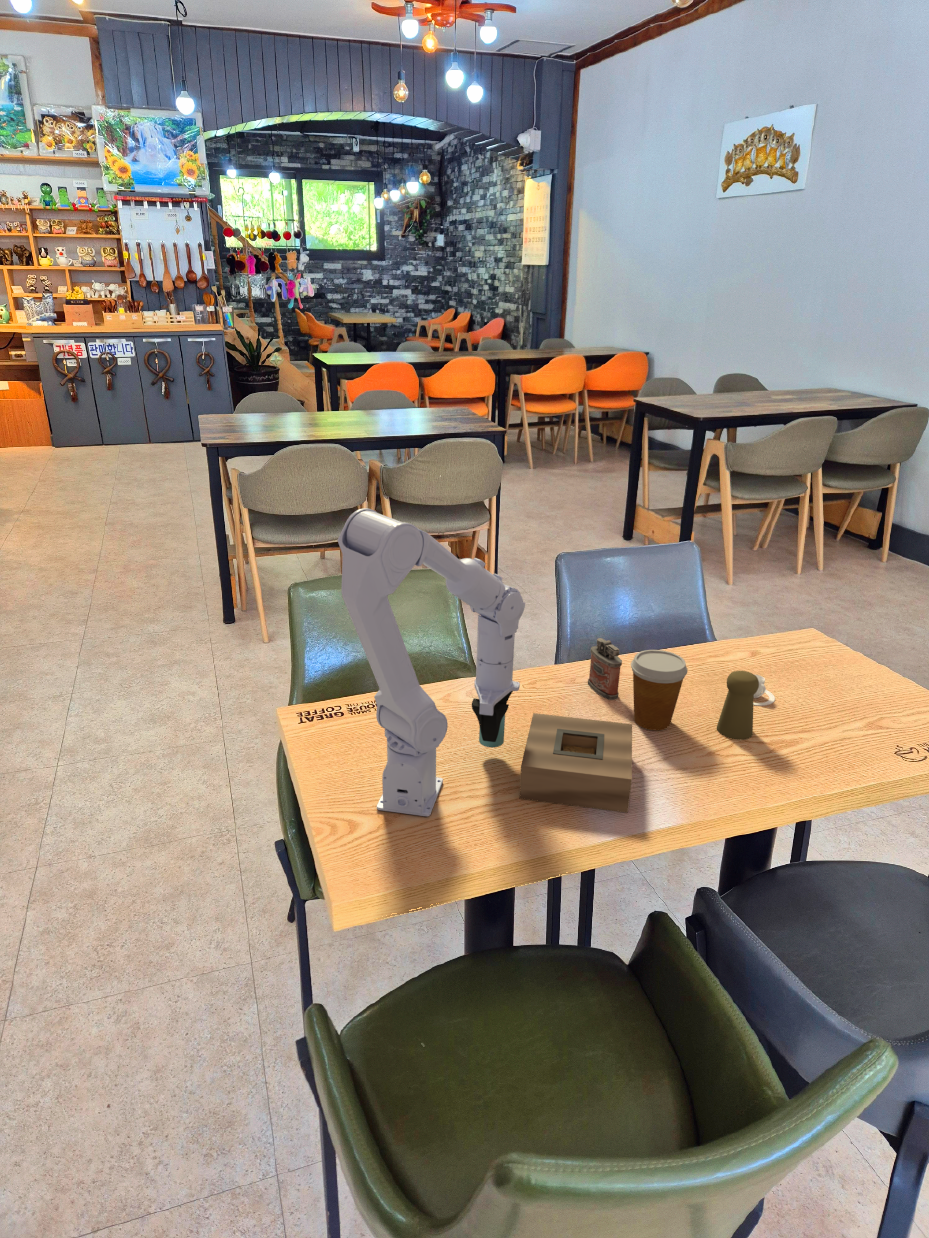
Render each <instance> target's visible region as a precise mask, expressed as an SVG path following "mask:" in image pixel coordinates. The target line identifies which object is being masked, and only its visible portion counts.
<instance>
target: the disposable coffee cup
mask: <svg viewBox="0 0 929 1238" xmlns="http://www.w3.org/2000/svg"><path fill="white" fill-rule="evenodd" d="M630 668H631V671H632V688H633V689H632V691H633V720H634V723H635V724H636V725H637V726H639V727H641V728H642V729H646V730H649V731H663V730H667V729H668V728H669V727H670V726H671V723H672V719H673V716H674V712H675V709H676V706H677V703H678V699H679V695H680V692H681V688H682V685H683V682H684V679H685V678H686V675H688V670H689V669H688V668H687V662H686V660H685V659H684V658H683V657H682V656H680V655H678V654H676V653H674V652H672V651H667V650H664V649H663V650H661V649H660V650H659V649H645V650H641V651H639V652H637V653H636V654H635V655H634V657H633V659H632V660H631V663H630Z"/></svg>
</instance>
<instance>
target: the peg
mask: <svg viewBox="0 0 929 1238" xmlns="http://www.w3.org/2000/svg"><path fill="white" fill-rule="evenodd" d="M505 725H506V714H505V715H504V716H503V718H502V720H501V723H500V728H499V733H498V736H497V739H496V742H489V741H483V739H482V735H481V730H480V728H479V732H478V735H479V736H478V742H479V744H480V745H481V746H483V747H487V748H498V747H501V746H503V744H504V742H505V727H506V726H505Z"/></svg>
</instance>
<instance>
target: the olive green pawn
mask: <svg viewBox="0 0 929 1238" xmlns="http://www.w3.org/2000/svg"><path fill="white" fill-rule="evenodd" d="M755 675H756V674H755V673H753V672H750V671H747V670H734V671H732V672H731V673H729V674H728V676H727V679H726V688H727V694H726V697H725V700H724V703H723V706H722V710H721V713H720V715H719V719H718V720H717V721H718V722H717V725H716V731H717V733H719V734H720V735H721V736H723V737H724V738H728V739H730V740H736V741H743V740H748V739H751V738H752V737H753V734H754V705H753V703H755V702H754V700H755V698H754V694H755V693H756V692H757V690H758V688H759V681H758V678H757V677H756V676H755Z"/></svg>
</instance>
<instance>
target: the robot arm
mask: <svg viewBox="0 0 929 1238" xmlns="http://www.w3.org/2000/svg"><path fill="white" fill-rule="evenodd" d="M337 542H338V545H339V549H340V551H341V553H342V565H341V567H342V568H341V596H342V600H343V602H344V605H345V607H346V610H347V612H348V614H349V618H350V619H351V621H352V624H353V627H354V629H355V631H356V635H357V636H358V639H359V641H360V644H361V647H362V648H363V651H364V653H365V656H366V659H367V661H368V664H369V666H370V668H371V672H372V673H373V675H374V678H375V681H376V683H377V685H378V688H379V689H378V691H377V692H376V693H375V695H374V700H375V703H376V704H375V705H376V713H375V715H376V721H377V723H378V725H379V726H380V727H382V728H383V729H384V737H385V738H386V757H387V758H386V759H387V761H386V765H385V767H384V770H383V772H382V794H381V795H380V798H379V800H378V802H377V804H376V809H377V810H378V811H384V812H392V813H398V814H400V813H401V814H407V815H414V816H421V817H430V816H431V813H432V811H433V809H434V806H435V803H436V802H437V801H436V800H437V798H438V795H439V793H440V790H441V787H442V784H443V782H444V779H443V778H442V777H438V776H437V748H438V747H440V744H441V743H442V742H443V741H444V739H445V737H446V735H447V731H448V723H449V722H448V719H447V717H446V715H445V714H444V713H443V712H441V711H440V710H438V708H437V706H436V703H435V701H434V700H433V699H432V698H431V697H430V695H429V694H428V693H427V692H426V691H425V690H424V688H422V686H421V685H420V682H419V680H418V677H417V675H416V672H415V669H414V666H413V664H412V660H411V657H410V655H409V652H408V650H407V647H406V644H405V641H404V639H403V636H402V634H401V631H400V628H399V625H398V623H397V620H396V617H395V614H394V611H393V608H392V606H391V604H390V601H389V598H388V596H389V595H392V594H394V593H395V592H396V590H397V589H398V588H399V587H400V585H401V583H402V582H403V581H404V580H405V578H406V577H407V576H408V574H409V573H410V572H411V570H413V568H414V567H415V566H417V567H421V566H422V565H423V566H425V567H427V568H428V569H430V570H431V571H433V572H435V573H437V575H439V576H441V577H443V578H444V579H445V587H446V590H447V592H448V591H449V593H450V594H451V595H452V596H453V595H454V596H455V597H456V598H458V599H459V600H460V601H462V602H463V603H465V604H466V605H468V606H469V608H470V610H471V612H473V613H477V634H476V640H477V641H476V660H475V661H476V665H475V666H476V667H475V669H476V670H475V679H474V685H473V686H474V688H475V691H476V694H477V697H478V698H473V699H472V702H471V709H472V712H473V713H474V714H475V716H476V719H477V721H478V724H479V729H480V730H481V735H482V739H483V741H489V742H496V739H497V736H498V733H499V728H500V723H501V720H502V718H503V716H504V715H505V716H506V713H507V711H508V709H509V705H510V704H507V703H508V701H509V699H510V697H511V695H512V694H513V692H518V691H519V690H520V685H521V684H520V682H519V681H515V680H513V679H514V678H513V677H514V676H513V675H514V657H515V656H514V655H515V654H514V653H515V641H516V640H515V636H516V633H517V630H518V629H519V625H520V624H519V622H520V620H521V617H522V616H523V614H524V611H525V608H526V602H525V601H524V599H523V596H522V595H521V592H520V591H519V590H518V589H517V588H515V587H513V586H510V585H508V584H505V583H504V582H503V577H502V576H501V575H500V574H497V573H491V572H490V571H489V570H487V568H485V567H486V563H485V562H484V561H483V560H482V559H480V558H477V557H474V558H470V557H465V558H464V557H463V558H461V559H459V558H458V557H457V556H455V555H454V554H453V553H452V552H451V551H450V550H448V548H446V547H445V546H443V544H441V543H440V542H439V541H437V539H436V538H434V537H433V536H432V535H431V534H429V532H427V531H424V530H422V529H419V528H418V527H417V526H415V525H414V524H413V523H410V522H404V521H401V520H397V519H395V518H392V517H390V516H387V515H384V514H381V513H379V512H377V511H376V510H374V509H371V508H367V507H365V508H364V507H363V508H360V509H357V510H355V511H354V512H353V513H351V514H350V515H349V517H348V518H347V520H346V521H345V524H344V526H343V527H342V530H341V531H340V534H339V536H338V538H337Z"/></svg>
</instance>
